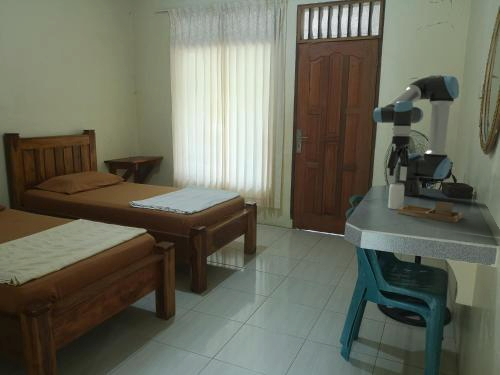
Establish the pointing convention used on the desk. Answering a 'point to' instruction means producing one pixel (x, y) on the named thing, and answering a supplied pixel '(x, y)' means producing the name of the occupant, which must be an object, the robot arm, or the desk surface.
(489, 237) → the desk surface
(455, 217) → the caddy
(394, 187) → the can
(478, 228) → the desk surface
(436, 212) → the walnut block
